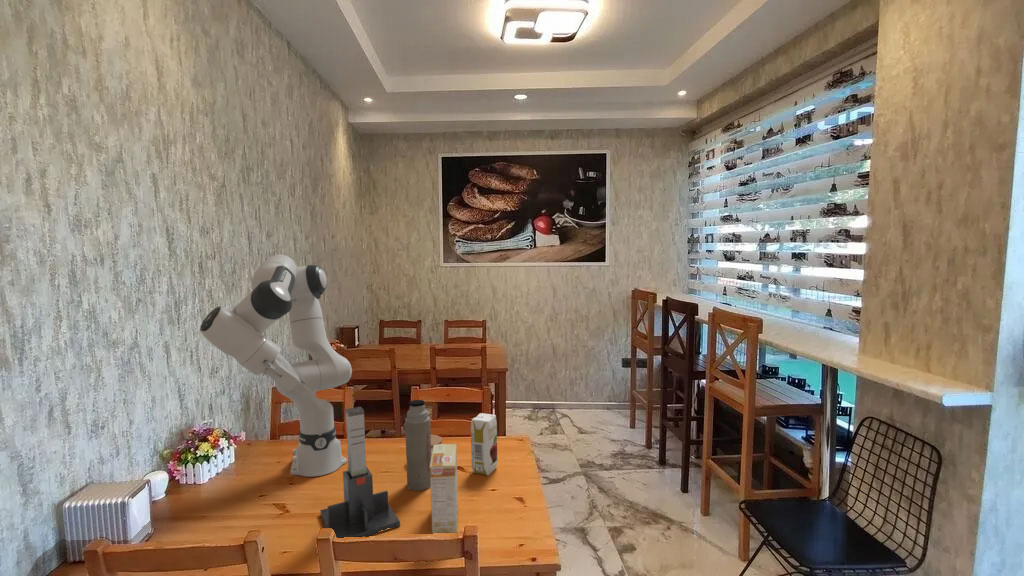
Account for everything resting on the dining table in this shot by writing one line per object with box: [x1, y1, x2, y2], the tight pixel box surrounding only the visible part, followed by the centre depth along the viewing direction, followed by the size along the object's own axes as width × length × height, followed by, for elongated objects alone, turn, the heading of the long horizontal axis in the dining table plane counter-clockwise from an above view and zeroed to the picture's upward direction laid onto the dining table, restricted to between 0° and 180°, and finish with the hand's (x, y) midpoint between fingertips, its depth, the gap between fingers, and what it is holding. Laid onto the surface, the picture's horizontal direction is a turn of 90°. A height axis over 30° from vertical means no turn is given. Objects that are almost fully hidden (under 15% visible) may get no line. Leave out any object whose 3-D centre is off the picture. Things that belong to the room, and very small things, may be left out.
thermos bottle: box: [404, 399, 432, 492], centre depth 159 cm, size 8×8×28 cm
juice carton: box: [470, 412, 498, 476], centre depth 169 cm, size 8×9×19 cm
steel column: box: [345, 406, 368, 479], centre depth 138 cm, size 4×4×24 cm
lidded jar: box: [431, 434, 443, 456], centre depth 178 cm, size 11×11×9 cm
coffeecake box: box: [430, 443, 459, 534], centre depth 138 cm, size 15×7×20 cm, turn 5°
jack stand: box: [319, 465, 401, 538], centre depth 139 cm, size 18×18×14 cm
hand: (306, 389), depth 130 cm, fingers open, 8 cm apart
